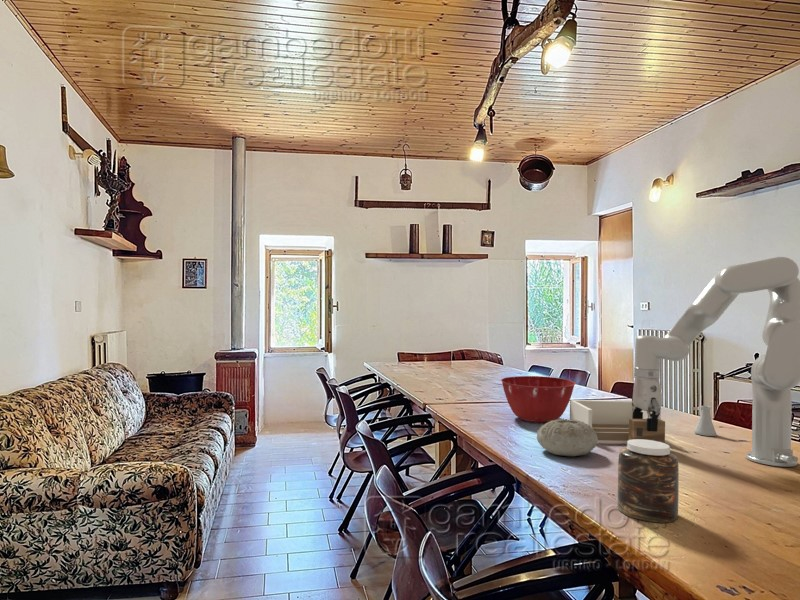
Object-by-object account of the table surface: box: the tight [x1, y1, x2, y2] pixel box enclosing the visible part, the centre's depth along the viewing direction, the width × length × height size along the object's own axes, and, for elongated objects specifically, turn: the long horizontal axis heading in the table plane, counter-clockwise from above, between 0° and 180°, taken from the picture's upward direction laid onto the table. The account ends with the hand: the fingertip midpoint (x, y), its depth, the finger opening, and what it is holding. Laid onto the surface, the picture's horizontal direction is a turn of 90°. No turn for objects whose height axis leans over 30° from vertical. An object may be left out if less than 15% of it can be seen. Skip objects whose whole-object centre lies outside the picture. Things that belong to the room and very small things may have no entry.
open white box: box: [569, 399, 662, 445], centre depth 185 cm, size 18×24×11 cm
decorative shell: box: [536, 418, 599, 457], centre depth 164 cm, size 18×18×10 cm
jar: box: [617, 439, 680, 524], centre depth 117 cm, size 12×12×15 cm
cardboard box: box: [629, 419, 666, 444], centre depth 171 cm, size 4×10×9 cm, turn 91°
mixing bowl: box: [500, 375, 576, 424], centre depth 212 cm, size 28×28×16 cm
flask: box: [693, 405, 718, 437], centre depth 192 cm, size 7×7×10 cm
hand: (644, 427), depth 172 cm, fingers open, 9 cm apart
